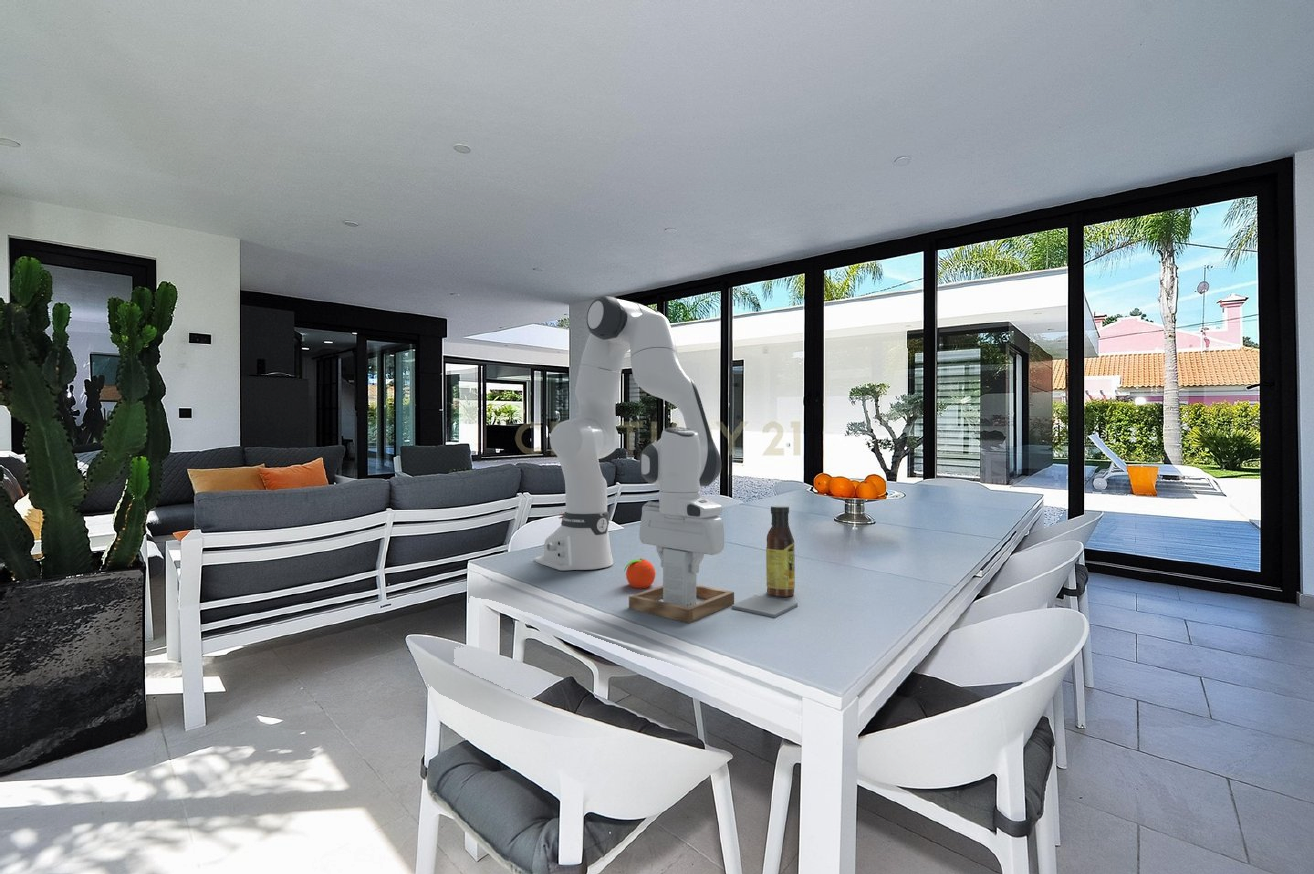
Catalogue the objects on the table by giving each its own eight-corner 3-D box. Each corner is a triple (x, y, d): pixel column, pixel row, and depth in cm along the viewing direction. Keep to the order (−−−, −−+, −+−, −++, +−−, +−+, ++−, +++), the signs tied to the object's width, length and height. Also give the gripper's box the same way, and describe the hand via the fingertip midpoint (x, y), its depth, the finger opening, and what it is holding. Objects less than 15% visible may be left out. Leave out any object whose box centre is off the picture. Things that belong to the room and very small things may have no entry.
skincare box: (697, 606, 123) (697, 549, 123) (684, 610, 120) (685, 552, 120) (674, 600, 127) (674, 545, 127) (661, 605, 124) (662, 548, 124)
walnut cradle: (628, 608, 122) (628, 596, 122) (676, 591, 135) (676, 580, 135) (689, 623, 112) (688, 610, 112) (734, 603, 125) (734, 592, 125)
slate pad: (731, 608, 122) (731, 605, 122) (755, 597, 130) (755, 595, 130) (774, 617, 116) (774, 614, 116) (797, 606, 123) (797, 603, 123)
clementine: (631, 595, 132) (631, 563, 132) (616, 588, 138) (616, 558, 138) (661, 589, 137) (661, 559, 137) (645, 583, 142) (645, 554, 142)
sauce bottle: (795, 599, 129) (794, 508, 128) (766, 597, 130) (765, 507, 130) (794, 591, 135) (794, 504, 135) (766, 589, 136) (766, 504, 136)
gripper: (633, 501, 128) (632, 565, 128) (711, 510, 115) (710, 581, 115) (651, 499, 132) (651, 560, 133) (728, 507, 119) (728, 575, 120)
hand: (679, 570), depth 124 cm, fingers open, 6 cm apart
